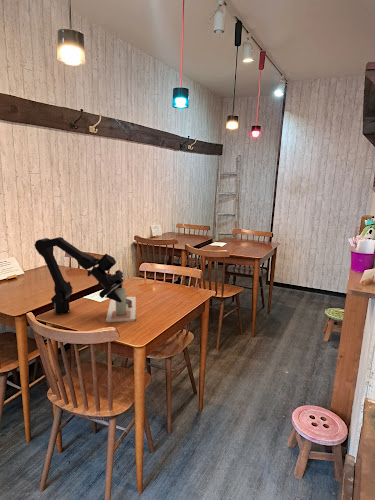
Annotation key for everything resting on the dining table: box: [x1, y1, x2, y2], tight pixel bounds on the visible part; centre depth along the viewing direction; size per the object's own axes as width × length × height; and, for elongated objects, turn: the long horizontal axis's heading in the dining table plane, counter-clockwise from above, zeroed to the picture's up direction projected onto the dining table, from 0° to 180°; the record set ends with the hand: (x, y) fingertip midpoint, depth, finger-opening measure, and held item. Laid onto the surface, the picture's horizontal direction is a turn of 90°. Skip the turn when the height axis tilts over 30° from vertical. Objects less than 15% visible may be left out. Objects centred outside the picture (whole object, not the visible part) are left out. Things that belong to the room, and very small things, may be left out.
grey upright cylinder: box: [115, 287, 127, 316], centre depth 169 cm, size 5×5×12 cm
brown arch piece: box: [126, 299, 132, 308], centre depth 182 cm, size 8×11×4 cm
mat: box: [111, 311, 131, 319], centre depth 170 cm, size 9×9×1 cm
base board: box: [105, 296, 137, 323], centre depth 181 cm, size 34×14×1 cm, turn 8°
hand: (123, 299), depth 169 cm, fingers open, 6 cm apart
